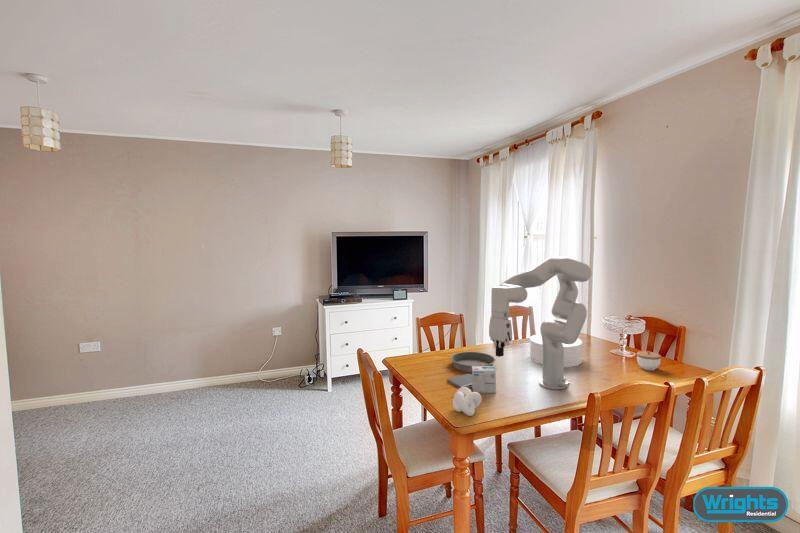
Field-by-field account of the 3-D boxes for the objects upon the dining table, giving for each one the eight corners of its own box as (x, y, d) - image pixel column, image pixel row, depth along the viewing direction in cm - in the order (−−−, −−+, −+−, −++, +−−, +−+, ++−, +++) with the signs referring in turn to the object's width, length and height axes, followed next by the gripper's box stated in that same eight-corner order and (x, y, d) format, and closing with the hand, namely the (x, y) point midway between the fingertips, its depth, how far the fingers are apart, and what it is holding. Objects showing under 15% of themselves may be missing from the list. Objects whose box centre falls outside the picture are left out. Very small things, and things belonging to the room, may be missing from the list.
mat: (484, 383, 186) (484, 380, 186) (462, 389, 179) (462, 386, 179) (468, 375, 197) (468, 373, 197) (447, 381, 190) (447, 378, 190)
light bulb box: (494, 387, 181) (494, 365, 180) (496, 393, 174) (496, 370, 173) (471, 387, 182) (471, 365, 181) (472, 393, 175) (472, 370, 174)
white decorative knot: (476, 404, 164) (476, 383, 163) (486, 416, 152) (486, 395, 151) (450, 406, 162) (450, 386, 161) (459, 419, 150) (459, 397, 150)
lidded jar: (636, 363, 208) (636, 347, 208) (659, 367, 203) (660, 349, 202) (636, 370, 199) (636, 352, 198) (661, 373, 194) (661, 355, 193)
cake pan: (480, 377, 195) (480, 368, 194) (442, 366, 212) (441, 359, 211) (503, 365, 212) (503, 357, 212) (466, 356, 229) (466, 348, 229)
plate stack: (549, 349, 240) (549, 331, 239) (592, 360, 216) (592, 340, 215) (519, 357, 224) (519, 338, 223) (562, 371, 201) (562, 349, 200)
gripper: (519, 316, 161) (518, 359, 162) (494, 311, 174) (494, 350, 175) (506, 318, 157) (505, 361, 158) (481, 312, 170) (481, 352, 171)
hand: (499, 355), depth 167 cm, fingers closed
